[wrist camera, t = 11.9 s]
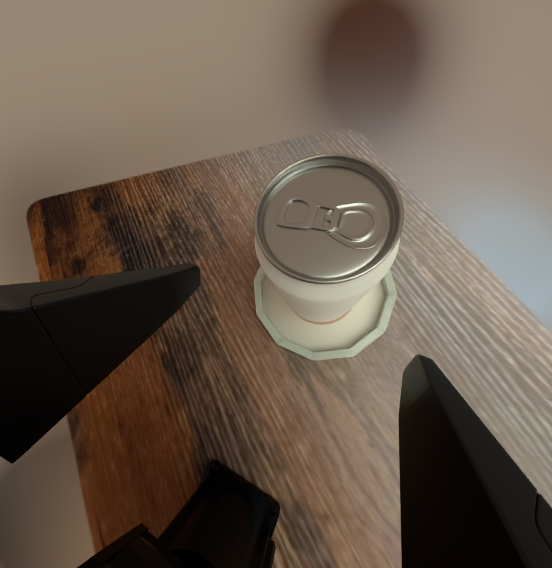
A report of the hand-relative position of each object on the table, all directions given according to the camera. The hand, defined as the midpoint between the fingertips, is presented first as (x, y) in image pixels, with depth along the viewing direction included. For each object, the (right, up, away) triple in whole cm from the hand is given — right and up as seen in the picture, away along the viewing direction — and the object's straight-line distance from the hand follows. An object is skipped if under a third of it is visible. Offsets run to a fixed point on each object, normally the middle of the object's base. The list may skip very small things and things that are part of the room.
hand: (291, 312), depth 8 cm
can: (+3, +1, +11) cm, 12 cm away
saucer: (+4, 0, +12) cm, 12 cm away
